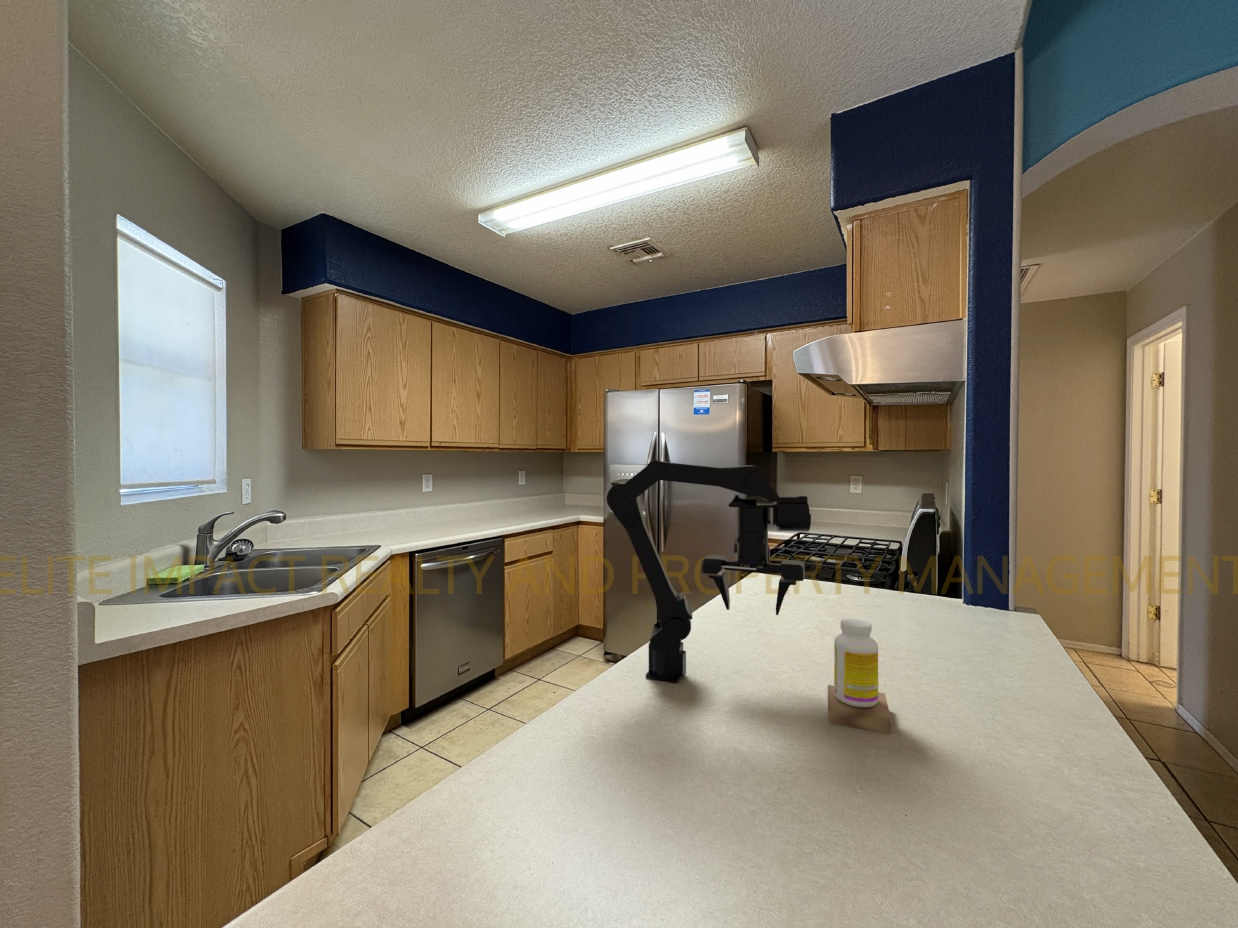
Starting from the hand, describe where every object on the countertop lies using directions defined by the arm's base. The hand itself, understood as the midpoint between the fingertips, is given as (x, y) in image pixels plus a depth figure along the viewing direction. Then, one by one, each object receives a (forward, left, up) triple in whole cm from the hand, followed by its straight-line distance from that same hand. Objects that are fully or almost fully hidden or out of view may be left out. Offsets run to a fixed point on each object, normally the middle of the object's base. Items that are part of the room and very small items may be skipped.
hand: (752, 611), depth 100 cm
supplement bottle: (+18, -8, -11) cm, 22 cm away
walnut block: (+18, -8, -13) cm, 24 cm away
